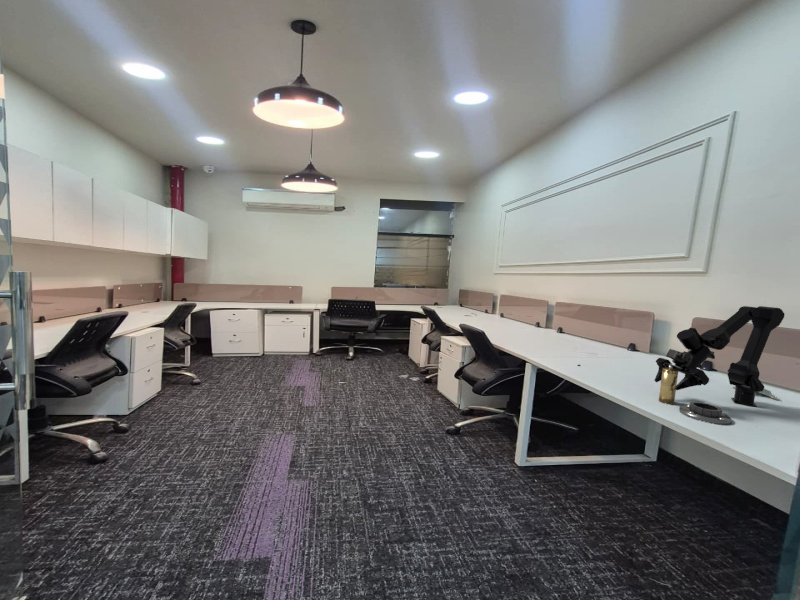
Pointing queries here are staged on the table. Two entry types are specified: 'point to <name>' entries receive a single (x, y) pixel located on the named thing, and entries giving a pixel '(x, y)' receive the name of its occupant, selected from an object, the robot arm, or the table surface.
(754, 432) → the table surface
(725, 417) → the grey flange
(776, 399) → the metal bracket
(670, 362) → the robot arm
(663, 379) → the brass pepper mill
